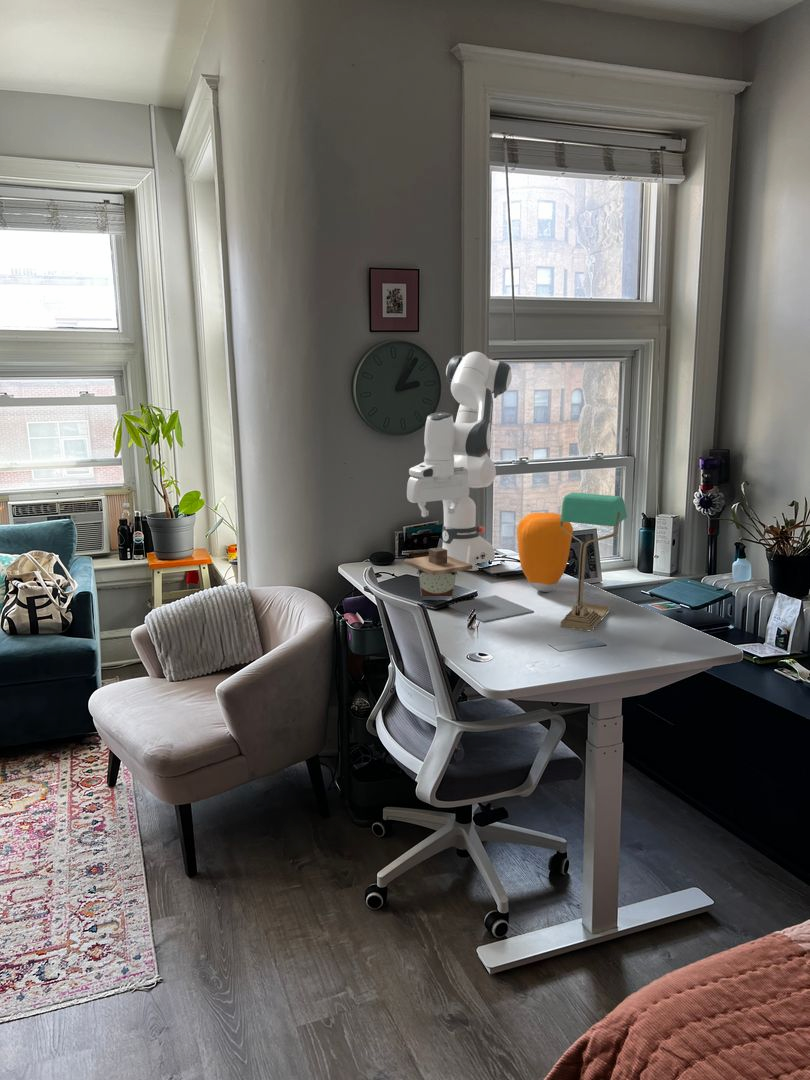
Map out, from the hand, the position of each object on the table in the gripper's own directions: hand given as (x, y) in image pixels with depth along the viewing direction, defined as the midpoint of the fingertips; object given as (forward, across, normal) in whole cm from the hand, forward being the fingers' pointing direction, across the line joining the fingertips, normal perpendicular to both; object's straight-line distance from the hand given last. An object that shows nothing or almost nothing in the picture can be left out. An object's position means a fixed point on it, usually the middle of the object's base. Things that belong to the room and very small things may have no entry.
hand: (438, 515), depth 242 cm
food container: (+26, 0, 0) cm, 26 cm away
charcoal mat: (+26, -7, +17) cm, 32 cm away
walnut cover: (+16, 0, 0) cm, 16 cm away
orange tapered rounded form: (+26, -32, +11) cm, 43 cm away
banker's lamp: (+26, -25, +38) cm, 52 cm away
